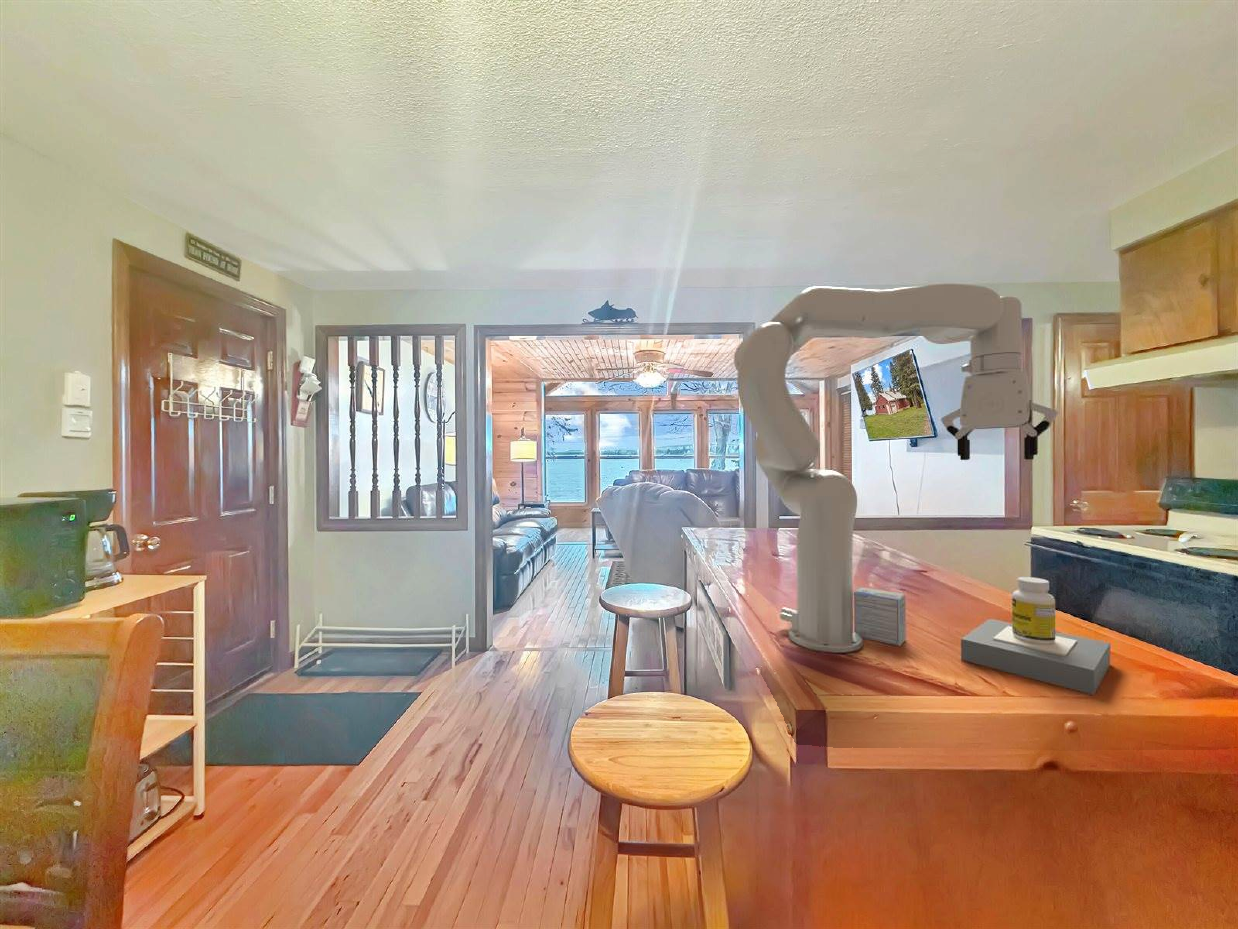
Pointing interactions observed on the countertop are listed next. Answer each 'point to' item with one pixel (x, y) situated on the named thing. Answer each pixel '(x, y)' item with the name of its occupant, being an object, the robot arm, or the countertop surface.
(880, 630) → the medicine box
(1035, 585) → the supplement bottle
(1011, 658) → the plate
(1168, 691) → the countertop surface
